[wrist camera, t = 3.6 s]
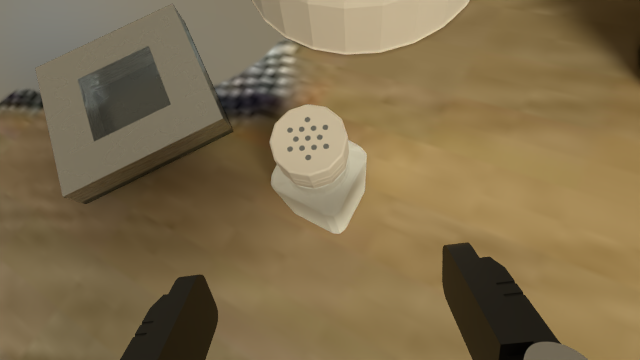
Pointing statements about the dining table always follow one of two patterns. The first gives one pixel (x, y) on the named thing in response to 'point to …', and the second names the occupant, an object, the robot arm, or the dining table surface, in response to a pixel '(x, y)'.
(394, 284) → the dining table surface
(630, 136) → the dining table surface
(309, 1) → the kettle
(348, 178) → the salt shaker
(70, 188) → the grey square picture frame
